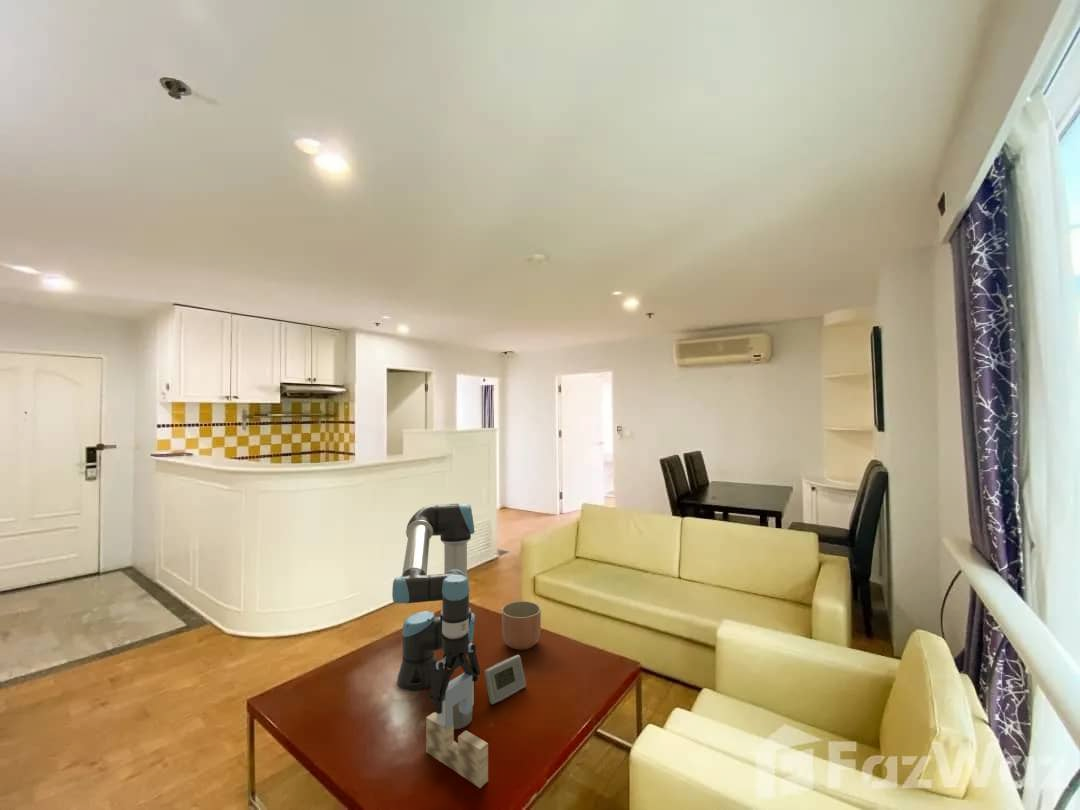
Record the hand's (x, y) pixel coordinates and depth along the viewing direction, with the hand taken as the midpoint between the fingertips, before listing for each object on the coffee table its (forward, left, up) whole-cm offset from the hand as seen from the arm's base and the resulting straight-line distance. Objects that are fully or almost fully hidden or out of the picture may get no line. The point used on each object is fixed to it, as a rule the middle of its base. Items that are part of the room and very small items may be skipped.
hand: (455, 713), depth 127 cm
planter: (-28, +64, -15) cm, 72 cm away
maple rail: (0, 0, -15) cm, 15 cm away
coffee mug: (-16, +15, -15) cm, 27 cm away
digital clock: (-11, +34, -15) cm, 38 cm away
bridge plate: (0, 0, -1) cm, 1 cm away
